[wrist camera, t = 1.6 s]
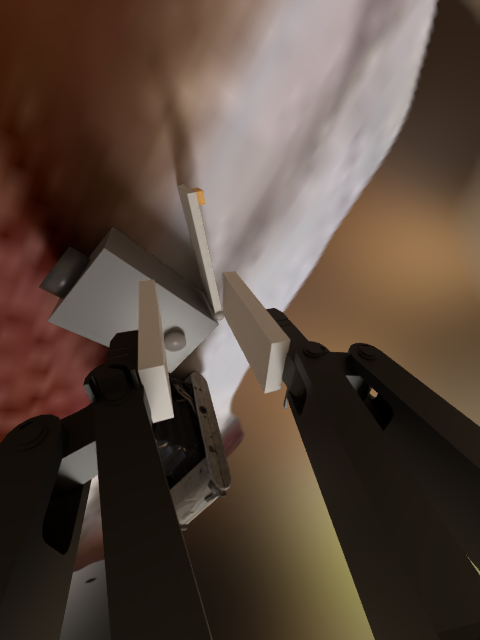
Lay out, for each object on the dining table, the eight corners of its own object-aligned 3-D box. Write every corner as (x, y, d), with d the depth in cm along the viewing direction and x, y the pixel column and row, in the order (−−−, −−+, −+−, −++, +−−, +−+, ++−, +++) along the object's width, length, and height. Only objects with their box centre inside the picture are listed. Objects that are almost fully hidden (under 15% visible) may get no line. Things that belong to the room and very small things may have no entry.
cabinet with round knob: (48, 274, 27) (17, 315, 20) (94, 212, 25) (77, 234, 18) (165, 336, 37) (171, 377, 30) (204, 294, 35) (220, 328, 28)
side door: (175, 185, 26) (185, 194, 20) (193, 182, 26) (207, 189, 21) (203, 294, 34) (215, 321, 29) (216, 290, 35) (231, 316, 29)
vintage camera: (127, 340, 35) (106, 486, 20) (207, 374, 44) (237, 494, 28) (94, 382, 38) (51, 542, 22) (176, 406, 46) (188, 534, 31)
